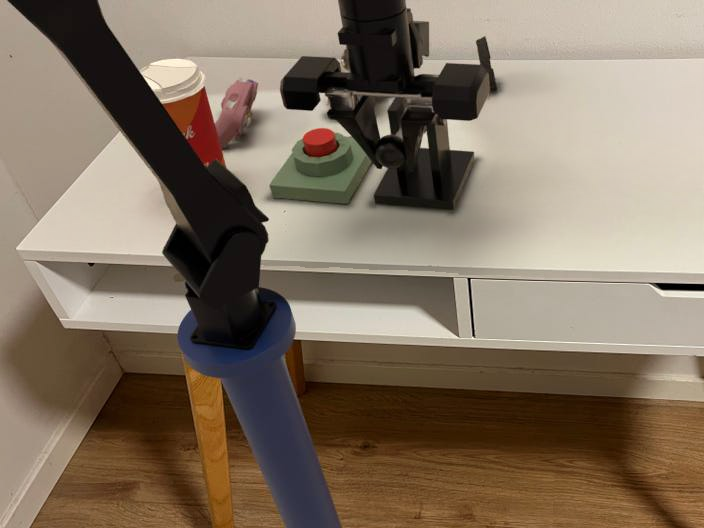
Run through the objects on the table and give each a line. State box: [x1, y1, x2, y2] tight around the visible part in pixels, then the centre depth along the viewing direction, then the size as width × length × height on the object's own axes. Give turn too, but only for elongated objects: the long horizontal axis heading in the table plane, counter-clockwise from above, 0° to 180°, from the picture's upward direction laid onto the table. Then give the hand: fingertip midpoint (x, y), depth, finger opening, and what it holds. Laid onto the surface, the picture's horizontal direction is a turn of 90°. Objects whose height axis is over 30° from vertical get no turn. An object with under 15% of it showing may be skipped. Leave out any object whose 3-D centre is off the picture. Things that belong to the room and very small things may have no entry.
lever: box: [375, 106, 427, 169], centre depth 80 cm, size 12×3×3 cm, turn 167°
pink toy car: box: [214, 76, 259, 148], centre depth 98 cm, size 10×5×7 cm, turn 179°
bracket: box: [373, 97, 475, 211], centre depth 86 cm, size 10×9×10 cm
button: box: [302, 127, 337, 157], centre depth 89 cm, size 4×4×2 cm
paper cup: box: [138, 58, 227, 168], centre depth 86 cm, size 8×8×14 cm
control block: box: [269, 132, 373, 205], centre depth 90 cm, size 11×9×4 cm
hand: (396, 168), depth 79 cm, fingers closed on lever, 3 cm apart
